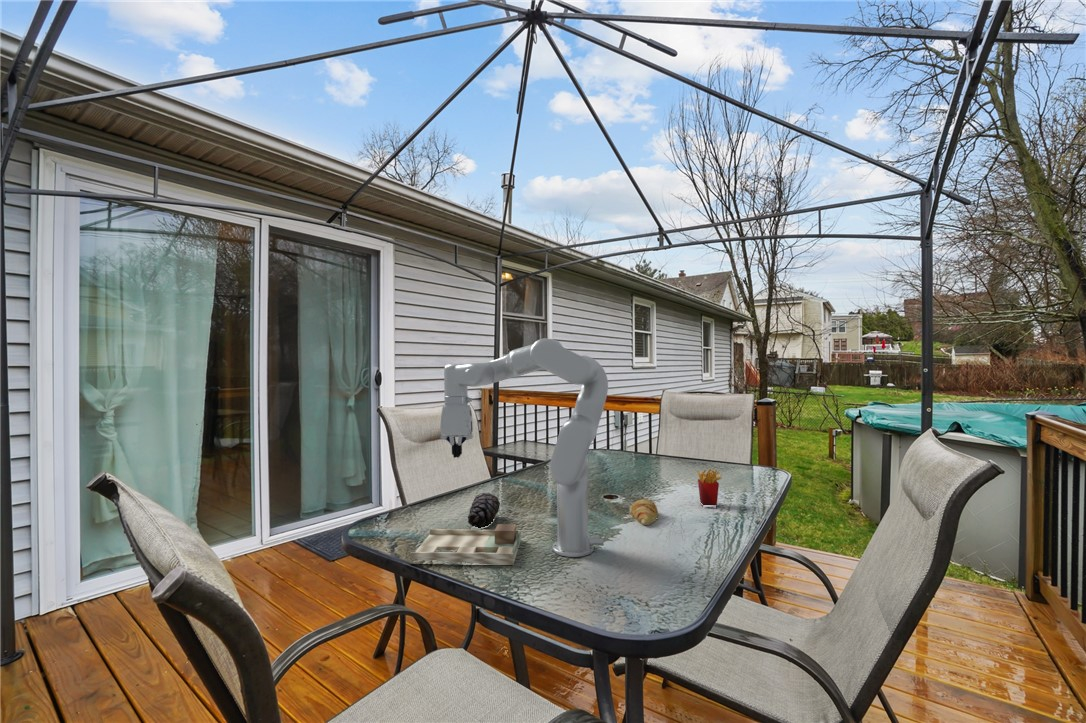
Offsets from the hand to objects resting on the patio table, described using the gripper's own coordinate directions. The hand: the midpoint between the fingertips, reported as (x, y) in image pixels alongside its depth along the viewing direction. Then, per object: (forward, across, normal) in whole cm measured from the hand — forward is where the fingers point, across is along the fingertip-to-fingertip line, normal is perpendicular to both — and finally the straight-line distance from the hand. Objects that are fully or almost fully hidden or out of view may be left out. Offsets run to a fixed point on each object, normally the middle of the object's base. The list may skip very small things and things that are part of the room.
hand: (457, 456), depth 159 cm
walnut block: (+25, -17, +6) cm, 31 cm away
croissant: (+28, -64, -23) cm, 73 cm away
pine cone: (+27, -6, -15) cm, 32 cm away
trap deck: (+27, -6, +11) cm, 30 cm away
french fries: (+27, -92, -36) cm, 102 cm away
